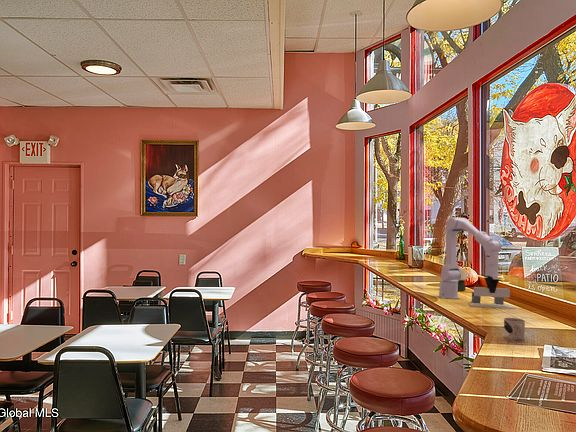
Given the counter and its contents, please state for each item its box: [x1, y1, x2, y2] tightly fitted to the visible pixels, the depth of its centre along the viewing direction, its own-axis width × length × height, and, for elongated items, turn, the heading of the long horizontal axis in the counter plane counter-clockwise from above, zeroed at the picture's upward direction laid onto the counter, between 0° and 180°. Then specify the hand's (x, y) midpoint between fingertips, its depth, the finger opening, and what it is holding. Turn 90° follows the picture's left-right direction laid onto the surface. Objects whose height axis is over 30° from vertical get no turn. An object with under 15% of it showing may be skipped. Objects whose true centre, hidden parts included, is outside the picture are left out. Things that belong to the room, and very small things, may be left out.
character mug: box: [458, 268, 471, 291], centre depth 282 cm, size 11×7×13 cm, turn 80°
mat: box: [468, 302, 516, 310], centre depth 230 cm, size 20×7×1 cm, turn 79°
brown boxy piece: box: [471, 291, 482, 303], centre depth 239 cm, size 3×6×5 cm, turn 169°
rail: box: [473, 286, 511, 298], centre depth 230 cm, size 16×3×4 cm, turn 79°
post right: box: [493, 297, 505, 305], centre depth 237 cm, size 3×6×5 cm, turn 169°
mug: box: [503, 317, 526, 342], centre depth 165 cm, size 10×7×7 cm
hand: (491, 292), depth 230 cm, fingers closed on rail, 3 cm apart
